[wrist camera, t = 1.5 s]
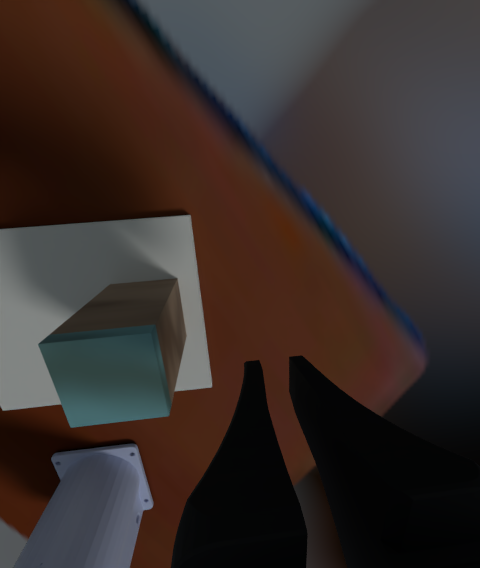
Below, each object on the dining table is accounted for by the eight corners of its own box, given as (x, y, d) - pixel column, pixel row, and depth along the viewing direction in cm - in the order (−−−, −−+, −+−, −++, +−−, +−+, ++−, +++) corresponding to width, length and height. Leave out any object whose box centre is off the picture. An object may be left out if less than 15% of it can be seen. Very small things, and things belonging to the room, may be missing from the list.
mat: (212, 382, 23) (211, 387, 23) (8, 405, 22) (2, 410, 22) (190, 214, 18) (189, 215, 18) (-76, 234, 17) (-85, 235, 17)
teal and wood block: (186, 335, 21) (168, 416, 13) (124, 341, 20) (70, 427, 13) (177, 278, 19) (151, 332, 12) (110, 284, 19) (37, 344, 11)
